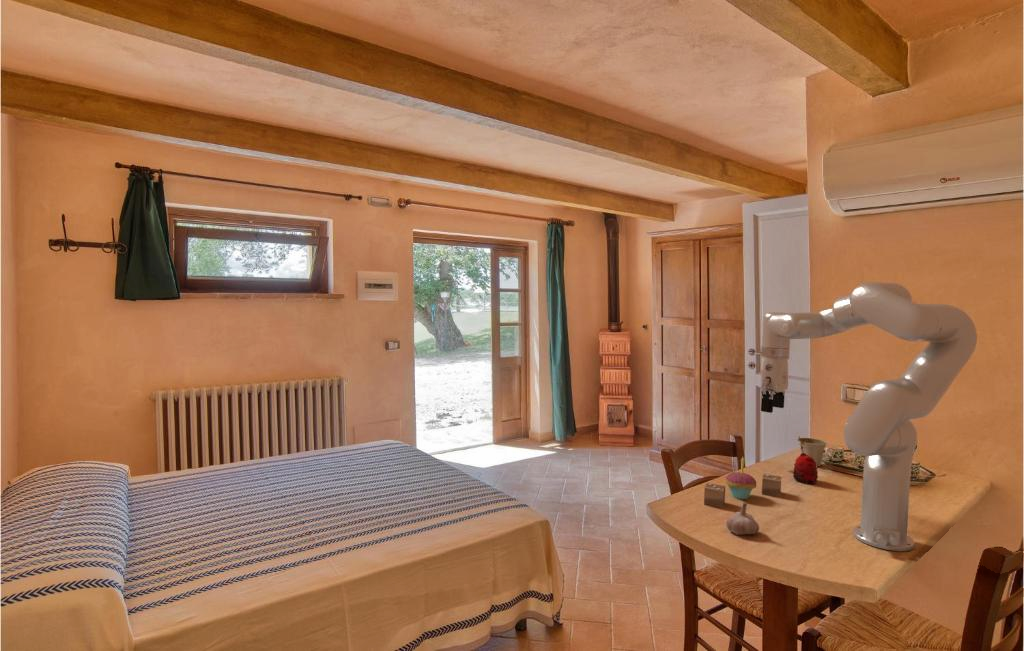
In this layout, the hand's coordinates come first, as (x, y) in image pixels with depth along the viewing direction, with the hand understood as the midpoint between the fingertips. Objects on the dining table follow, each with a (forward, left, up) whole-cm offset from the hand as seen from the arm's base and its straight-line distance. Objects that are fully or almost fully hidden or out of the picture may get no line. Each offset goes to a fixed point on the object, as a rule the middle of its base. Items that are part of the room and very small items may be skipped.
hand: (772, 409), depth 164 cm
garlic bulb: (-34, +4, -26) cm, 43 cm away
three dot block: (-17, +13, -26) cm, 34 cm away
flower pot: (+41, -12, -26) cm, 50 cm away
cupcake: (-7, +7, -26) cm, 28 cm away
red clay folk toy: (+19, -10, -26) cm, 34 cm away
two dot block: (+1, -1, -26) cm, 26 cm away
